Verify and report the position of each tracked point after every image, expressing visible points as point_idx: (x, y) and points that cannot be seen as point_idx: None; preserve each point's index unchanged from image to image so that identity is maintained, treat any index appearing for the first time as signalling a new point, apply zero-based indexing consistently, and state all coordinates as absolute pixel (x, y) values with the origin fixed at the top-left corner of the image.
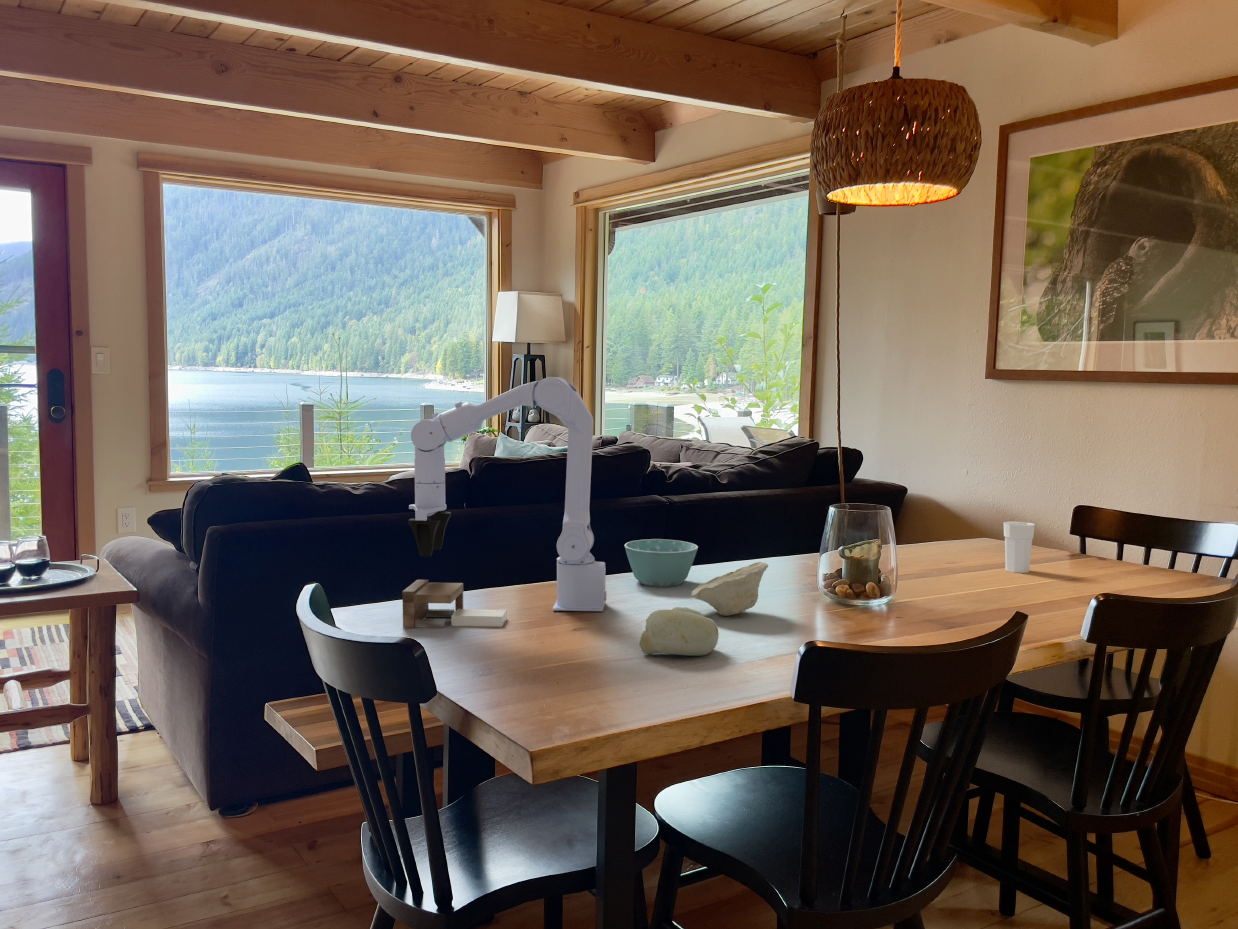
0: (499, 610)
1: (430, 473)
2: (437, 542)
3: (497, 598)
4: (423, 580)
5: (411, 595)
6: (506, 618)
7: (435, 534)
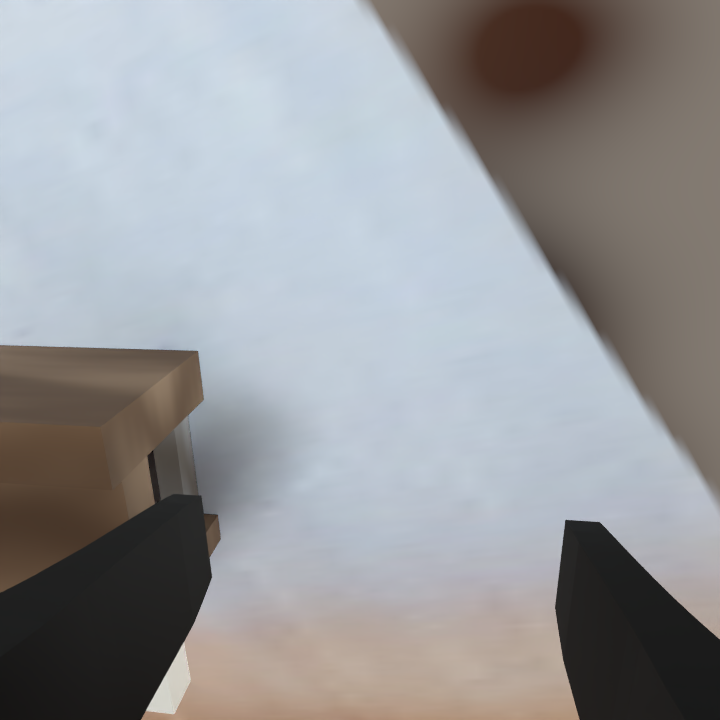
0: (158, 693)
1: None
2: (572, 641)
3: (556, 639)
4: (85, 467)
5: None
6: (185, 684)
7: (613, 706)
